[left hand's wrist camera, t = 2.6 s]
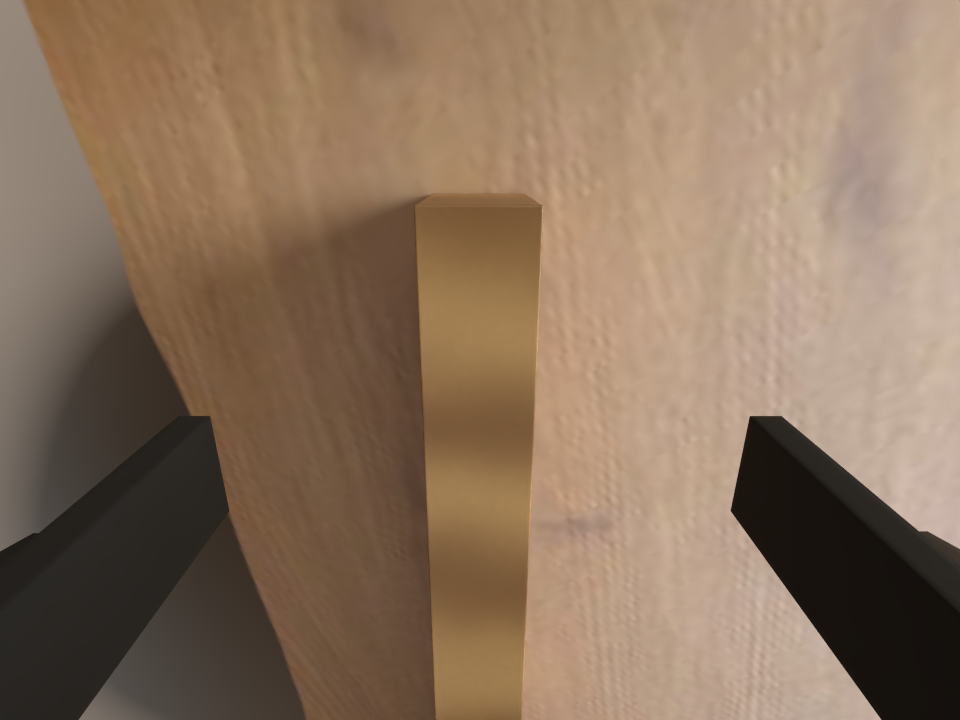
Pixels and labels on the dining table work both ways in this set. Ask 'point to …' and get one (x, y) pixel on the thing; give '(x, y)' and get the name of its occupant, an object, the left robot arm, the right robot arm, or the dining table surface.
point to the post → (478, 440)
